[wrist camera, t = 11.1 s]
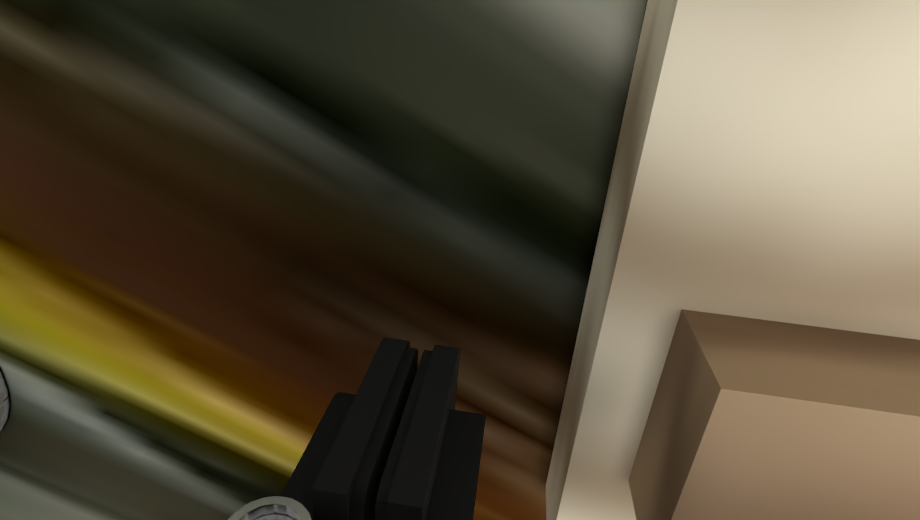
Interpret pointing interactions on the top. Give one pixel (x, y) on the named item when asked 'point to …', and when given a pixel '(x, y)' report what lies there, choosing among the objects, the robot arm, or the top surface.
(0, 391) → the thermos bottle
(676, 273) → the maple board
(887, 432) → the walnut tile
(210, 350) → the top surface
